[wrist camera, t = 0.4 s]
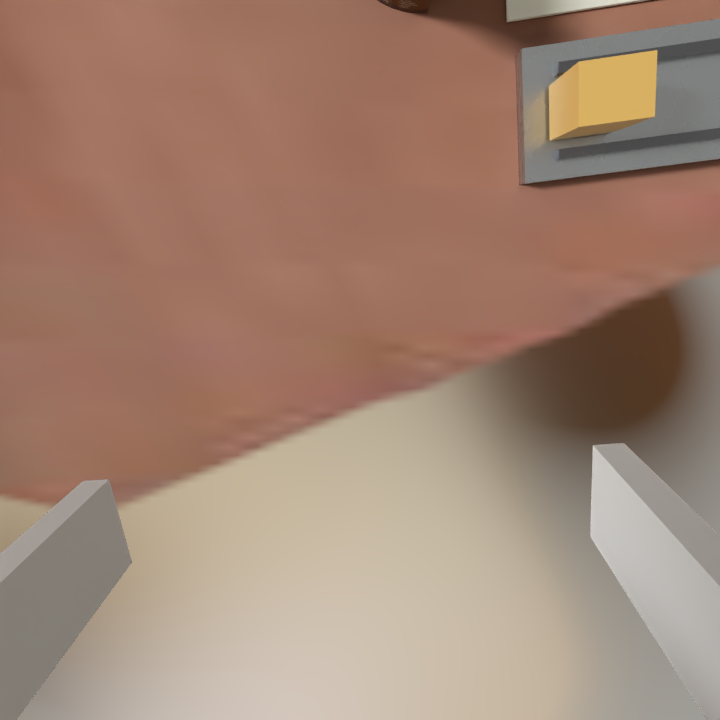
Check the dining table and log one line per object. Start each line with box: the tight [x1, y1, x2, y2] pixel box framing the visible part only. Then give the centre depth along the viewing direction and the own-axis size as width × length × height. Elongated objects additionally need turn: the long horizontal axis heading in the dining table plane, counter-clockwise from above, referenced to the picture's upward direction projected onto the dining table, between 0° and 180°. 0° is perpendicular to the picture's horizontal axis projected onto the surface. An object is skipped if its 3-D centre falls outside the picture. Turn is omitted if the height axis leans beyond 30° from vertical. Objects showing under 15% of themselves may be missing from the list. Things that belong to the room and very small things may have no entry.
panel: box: [516, 19, 720, 185], centre depth 31 cm, size 8×15×2 cm, turn 97°
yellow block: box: [549, 50, 658, 141], centre depth 29 cm, size 3×4×5 cm
